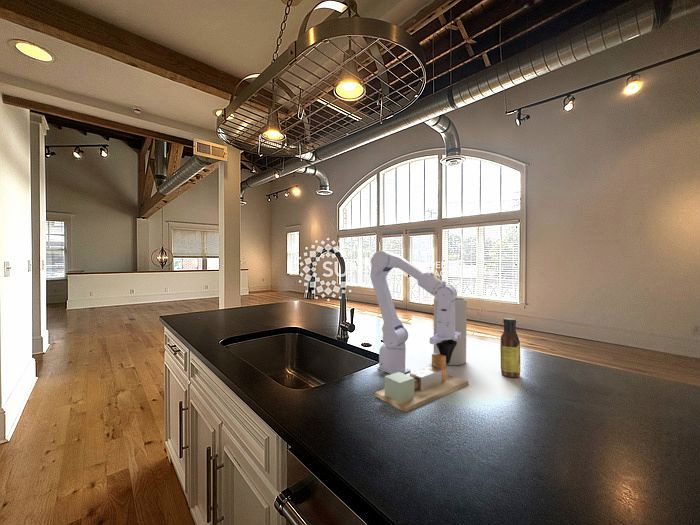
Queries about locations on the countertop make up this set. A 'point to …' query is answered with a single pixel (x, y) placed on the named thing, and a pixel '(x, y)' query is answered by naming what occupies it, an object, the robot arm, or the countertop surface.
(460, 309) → the cylinder vase
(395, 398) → the pale green block
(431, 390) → the base board
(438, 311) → the robot arm
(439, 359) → the brown piece
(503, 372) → the sauce bottle
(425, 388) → the metal sleeve
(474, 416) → the countertop surface
